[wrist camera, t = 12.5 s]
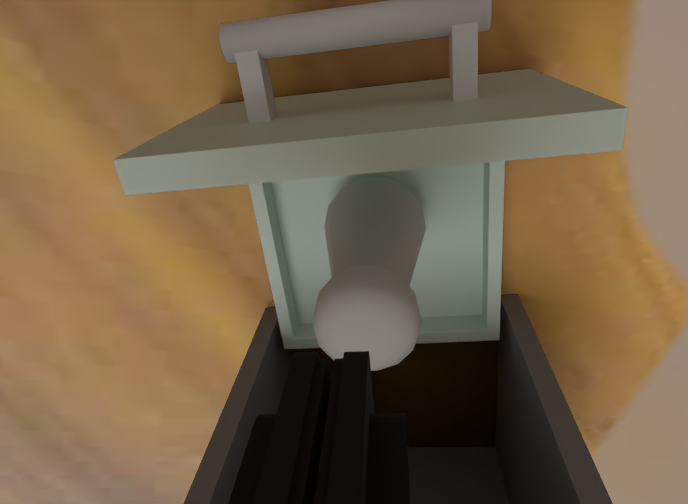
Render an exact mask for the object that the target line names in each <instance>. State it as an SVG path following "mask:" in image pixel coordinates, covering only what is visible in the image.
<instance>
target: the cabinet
mask: <svg viewBox="0 0 688 504" xmlns="http://www.w3.org/2000/svg"><path fill="white" fill-rule="evenodd" d="M291 359H292V355H291V350H290V349H284V345H283V340H282V336H281V331H280V326H279V322H278V317H277V313H276V308H266V309H265V311H264V313H263V316H262V318H261V320H260V323H259V325H258V328H257V330H256V332H255V335H254V337H253V340H252V342H251V344H250V347H249V349H248V351H247V354H246V356H245V359H244V361H243V363H242V366H241V368H240V370H239V373H238V375H237V378H236V380H235V382H234V385H233V387H232V390H231V392H230V394H229V397H228V399H227V401H226V404H225V406H224V409H223V411H222V413H221V416H220V418H219V421H218V423H217V425H216V428H215V430H214V432H213V435H212V437H211V440H210V442H209V444H208V447H207V449H206V452H205V454H204V456H203V459H202V461H201V463H200V466H199V468H198V471H197V473H196V475H195V478H194V480H193V483H192V485H191V487H190V490H189V492H188V494H187V497H186V499H185V502H184V504H228V503H229V499H230V496H231V493H232V490H233V487H234V484H235V481H236V477H237V474H238V471H239V468H240V465H241V462H242V459H243V455H244V452H245V449H246V446H247V443H248V440H249V437H250V433H251V430H252V427H253V424H254V421H255V419H256V417H257V416H258V415H259V414H277V411H278V407H279V404H280V400H281V396H282V392H283V389H284V385H285V381H286V378H287V374H288V370H289V366H290V363H291ZM407 450H408V469H409V489H410V504H612V501H611V499H610V497H609V495H608V493H607V490H606V488H605V486H604V484H603V481H602V479H601V477H600V475H599V473H598V470H597V468H596V466H595V464H594V462H593V459H592V457H591V455H590V453H589V451H588V448H587V446H586V444H585V442H584V440H583V437H582V435H581V433H580V431H579V429H578V426H577V424H576V422H575V420H574V417H573V415H572V413H571V411H570V409H569V406H568V404H567V402H566V400H565V398H564V395H563V393H562V391H561V389H560V387H559V384H558V382H557V380H556V378H555V376H554V373H553V371H552V369H551V367H550V365H549V362H548V360H547V358H546V356H545V354H544V351H543V349H542V347H541V345H540V343H539V340H538V338H537V336H536V334H535V332H534V329H533V327H532V325H531V323H530V320H529V318H528V316H527V314H526V312H525V309H524V307H523V305H522V303H521V301H520V298H519V296H518V294H514V295H501V307H500V339H499V340H498V370H497V403H496V437H495V447H426V448H407Z"/></svg>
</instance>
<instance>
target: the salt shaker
mask: <svg viewBox="0 0 688 504" xmlns="http://www.w3.org/2000/svg"><path fill="white" fill-rule="evenodd" d="M324 229H325V235H326V242H327V249H328V256H329V263H330V270H331V277H332V278H331V279H330V280H329V281H328V282H327V283H326V285H325V286H324V287H323V288H322V289H321V290H320V292H319V295H318V297H317V301H316V307H315V312H314V317H313V327H314V331H315V334H316V337H317V340H318V344H319V347H320V348H321V349H322V350H323V351H324V352H325V353H326V354H327V355H328V356H329V357H331V358H332V359H333V360H335V359H339V358H343V355H344V352H355V351H369V355H370V366H371V371H378V370H381V369H384V368H387V367H391V366H394V365H397V364H399V363H400V362H401V361H402V360H403V359H404V358H405V357H406V356H407V355H408V354H410V353H411V352H412V351H413V349H414V346H415V344H416V341H417V338H418V335H419V333H420V328H421V323H422V321H421V316H420V312H419V307H418V303H417V299H416V294H415V292H414V291H413V290H412V289H411V288H410V283H411V279H412V276H413V272H414V269H415V265H416V262H417V258H418V255H419V251H420V248H421V245H422V241H423V238H424V234H425V231H426V224H425V219H424V215H423V210H422V206H421V205H420V203H419V202H418V201H417V200H416V198H415V197H414V196H413V194H412V193H411V192H410V190H409V189H408V188H407V187H406V186H404V185H401V184H399V183H397V182H395V181H393V180H390V179H388V178H377V177H363V178H361V179H359V180H357V181H355V182H353V183H351V184H348V185H346V186H344V187H343V188H342V189H341V191H340V192H339V193H338V194H337V195H336V197H335V198H334V199H333V200H332V202H331V203H330V204H329V205H328V209H327V215H326V220H325V225H324Z"/></svg>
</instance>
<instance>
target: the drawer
mask: <svg viewBox="0 0 688 504" xmlns="http://www.w3.org/2000/svg"><path fill="white" fill-rule="evenodd" d="M491 16H492V0H388V1H381V2H374V3H366V4H359V5H352V6H345V7H337V8H330V9H323V10H316V11H308V12H301V13H294V14H286V15H279V16H272V17H265V18H257V19H250V20H243V21H235V22H228V23H221V24H220V26H219V41H220V46H221V50H222V53H223V56H224V58H225V60H226V61H227V62H228V63H229V64H230V63H237V68H238V73H239V78H240V82H241V87H242V92H243V97H244V101H242V102H233V103H224V104H217V105H215V106H213V107H211V108H209V109H207V110H206V111H204V112H202V113H200V114H198V115H196V116H194V117H192V118H191V119H189V120H187V121H185V122H183V123H181V124H179V125H177V126H176V127H174V128H172V129H170V130H168V131H166V132H164V133H162V134H160V135H159V136H157V137H155V138H153V139H151V140H149V141H147V142H145V143H144V144H142V145H140V146H138V147H136V148H134V149H132V150H130V151H129V152H127V153H125V154H123V155H121V156H119V157H117V158H115V159H114V160H113V162H114V165H115V167H116V170H117V173H118V176H119V179H120V182H121V185H122V188H123V191H124V194H125V195H133V194H144V193H155V192H167V191H178V190H189V189H200V188H211V187H222V186H233V185H244V184H249V189H250V194H251V198H252V203H253V207H254V212H255V216H256V221H257V226H258V230H259V235H260V239H261V244H262V249H263V253H264V258H265V262H266V267H267V271H268V276H269V281H270V285H271V290H272V294H273V299H274V304H275V308H276V313H277V317H278V322H279V326H280V331H281V336H282V340H283V345H284V349H303V348H320V347H319V344H318V340H317V337H316V334H315V331H314V327H313V317H314V312H315V307H316V301H317V297H318V295H319V292H320V290H321V289H322V288H323V287H324V286H325V285H326V283H327V282H328V281H329V280H330V279H331V278H332V277H331V270H330V263H329V256H328V249H327V242H326V235H325V229H324V225H325V220H326V215H327V209H328V205H329V204H330V203H331V202H332V200H333V199H334V198H335V197H336V195H337V194H338V193H339V192H340V191H341V189H342V188H343V187H344V186H346V185H348V184H351V183H353V182H355V181H357V180H359V179H361V178H363V177H377V178H388V179H390V180H393V181H395V182H397V183H399V184H401V185H404V186H406V187H407V188H408V189H409V190H410V192H411V193H412V194H413V196H414V197H415V198H416V200H417V201H418V202H419V203H420V205H421V206H422V210H423V215H424V219H425V224H426V231H425V234H424V238H423V241H422V245H421V248H420V251H419V255H418V258H417V262H416V265H415V269H414V272H413V276H412V279H411V283H410V288H411V289H412V290H413V291H414V292H415V294H416V299H417V303H418V307H419V312H420V316H421V321H422V323H421V328H420V333H419V335H418V338H417V341H416V344H420V343H443V342H467V341H490V340H499V339H500V307H501V274H502V242H503V210H504V178H505V161H510V160H521V159H532V158H543V157H554V156H565V155H576V154H587V153H598V152H609V151H620V150H622V147H623V140H624V133H625V126H626V119H627V112H628V107H625V106H623V105H620V104H618V103H615V102H613V101H610V100H608V99H605V98H603V97H600V96H598V95H595V94H593V93H590V92H588V91H585V90H583V89H580V88H578V87H575V86H573V85H570V84H568V83H565V82H563V81H560V80H558V79H555V78H553V77H550V76H548V75H545V74H543V73H540V72H538V71H535V70H533V69H522V70H513V71H504V72H496V73H487V74H478V32H485V31H489V29H490V25H491ZM445 36H449V78H443V79H434V80H426V81H417V82H408V83H399V84H391V85H382V86H373V87H364V88H356V89H347V90H338V91H329V92H321V93H312V94H303V95H294V96H285V97H277V98H274V94H273V89H272V83H271V78H270V72H269V66H268V61H267V59H270V58H278V57H286V56H294V55H302V54H310V53H318V52H326V51H334V50H342V49H350V48H358V47H366V46H374V45H382V44H390V43H398V42H406V41H414V40H422V39H430V38H437V37H445Z"/></svg>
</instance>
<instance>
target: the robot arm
mask: <svg viewBox="0 0 688 504" xmlns="http://www.w3.org/2000/svg"><path fill="white" fill-rule="evenodd" d="M228 504H410V489H409V469H408V450H407V430H406V413H374V403H373V391H372V378H371V366H370V355H369V351H355V352H344V355H343V358H339V359H335V360H334V366H333V373H332V380H331V374H330V366H329V360H328V359H320V355H319V353H318V352H311V353H294V354H293V356H292V359H291V363H290V366H289V370H288V374H287V378H286V381H285V385H284V389H283V392H282V396H281V400H280V404H279V407H278V411H277V414H259V415H258V416H257V417H256V419H255V421H254V424H253V427H252V430H251V433H250V437H249V440H248V443H247V446H246V449H245V452H244V455H243V459H242V462H241V465H240V468H239V471H238V474H237V477H236V481H235V484H234V487H233V490H232V493H231V496H230V499H229V503H228Z"/></svg>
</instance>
